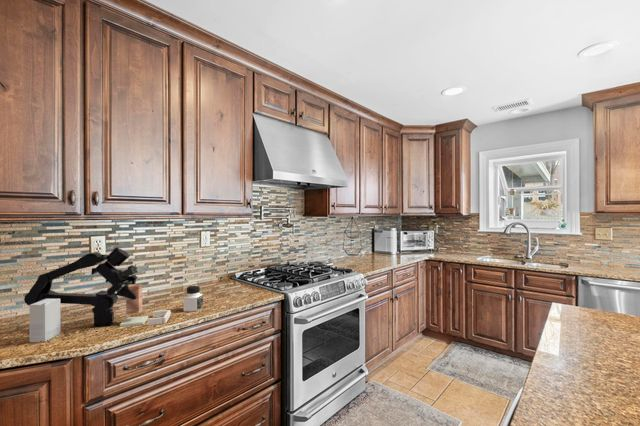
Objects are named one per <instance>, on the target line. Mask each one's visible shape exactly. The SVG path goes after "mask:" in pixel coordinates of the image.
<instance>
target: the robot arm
mask: <svg viewBox="0 0 640 426" xmlns="http://www.w3.org/2000/svg"><path fill="white" fill-rule="evenodd" d="M129 258H130V255H129V253H128V252H127V251H126V250H123V249H122V248H119V247H114V249H113V250H112V251H110V253H108V254H102V253H100V252H98V251H93V252H90V253H86V254H85V255H83V256H81V257H80V258H78V259H77V260H74V262H72V263H71V262H70V263H68V264H67V265H63V266H61V267H59V268H56V269H53V270H50V271H48V272H44V273H42V274H40V275H39V276H38V277H37V280H36V281H35V282H34V284H33V285H32V287H31V288H30V289H29V292H27V293H26V294H25V296H24V297H23V299H24V303H25V304H26V305H27V306H29V307H30V305H31V304H34V303H36V302H39V301H41V300H44V299H60V304H63V305H64V304H65V305H66V304H67V305H68V304H70V305H87V306H88V305H90V306H93V308H92V309H91V311H92V313H93V325H92V326H91V328H100V327H108V326H111V325H112V324H113V323H114V322H115V312H114V311H113V310H114V309H113V307H114V305H115V304H116V303H117V302H118V300H119V297H123V298H125V299H126V298H130V299H134V300H135V299H136V297H135V295H134V294H133V293H132V292H131V291H130V290H129V288H128V285H130V284H137V283H136V282H137V279H138V278H139V277H138V275H136V273H138V267H137V266H136V265H133V264H132V265H129V266H127V269H125V270H122V269H117V268H115V267H116V266H117V267H120V266H121V265H122V264H123V263H124V262H126V260H127V259H129ZM103 262H104V263H103ZM94 266H96V267H94ZM90 267H92V268H91V273H90V275H96V274H99V275H100V276H101V277H102V278H103V279H105V281H104V283H109V284H110V285H111V286H110V287H109V288H108V289H107V290H100V291H98V292H96V293H94V294H93V293H92V294H88V293H87V294H86V293H74V292H73V293H71V292H70V293H69V292H58V291H54V290H52V285H53V280H56V279H59V278H61V277H64V276H65V275H66V276H67V275H68V274H71V273H74V272H76V271H78V270H81V269H86V268H90Z"/></svg>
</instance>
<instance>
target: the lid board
mask: <svg viewBox="0 0 640 426" xmlns="http://www.w3.org/2000/svg"><path fill="white" fill-rule="evenodd" d="M147 319H149V315H142V316H133V317H132V316H131V317H126V318H124V320H122V321H121V323H119V327H120V328H123V327H130V326H142V325H144V324H145V323H146V322H147Z"/></svg>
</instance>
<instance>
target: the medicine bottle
mask: <svg viewBox="0 0 640 426" xmlns="http://www.w3.org/2000/svg"><path fill="white" fill-rule="evenodd" d="M200 290H201V289H200V286H199V285H196V284H195V285H193V284H192V285H189V286H187V287H186V296H184V297H183V312H199V311H200V310H201V309H203V308H204V294H203V293H200V292H201V291H200Z"/></svg>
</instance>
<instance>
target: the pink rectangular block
mask: <svg viewBox="0 0 640 426" xmlns="http://www.w3.org/2000/svg"><path fill="white" fill-rule="evenodd" d="M128 288H129V290H130V291H131V292H132V293H133V294H134V295H135V297H136V299H135V300H134V299H130V298H126V297H125V308H126V309H125V310H126V311H125V314H126V315H132V314H133V315H134V314H139V313H141V311H143V283H135V284H130V285H128Z"/></svg>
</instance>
